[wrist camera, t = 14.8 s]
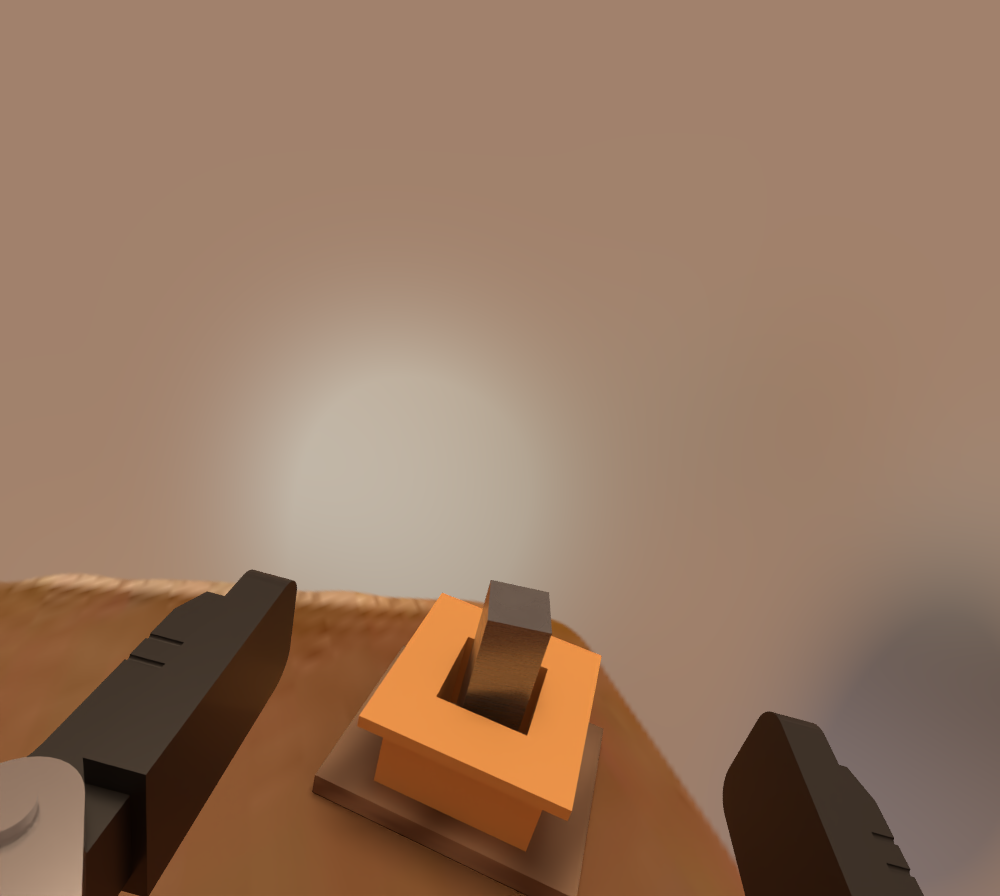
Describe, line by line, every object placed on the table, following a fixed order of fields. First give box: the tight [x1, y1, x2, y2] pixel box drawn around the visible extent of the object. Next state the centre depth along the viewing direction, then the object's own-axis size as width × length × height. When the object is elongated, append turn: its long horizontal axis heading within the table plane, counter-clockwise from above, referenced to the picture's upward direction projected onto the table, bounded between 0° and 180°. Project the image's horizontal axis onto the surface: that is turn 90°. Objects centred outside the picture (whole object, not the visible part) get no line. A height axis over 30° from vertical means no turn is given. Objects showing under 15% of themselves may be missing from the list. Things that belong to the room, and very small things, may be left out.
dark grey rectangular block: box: [456, 580, 552, 732], centre depth 35 cm, size 4×4×12 cm
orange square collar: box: [357, 593, 601, 852], centre depth 37 cm, size 12×12×6 cm
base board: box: [312, 645, 603, 896], centre depth 38 cm, size 16×12×2 cm
